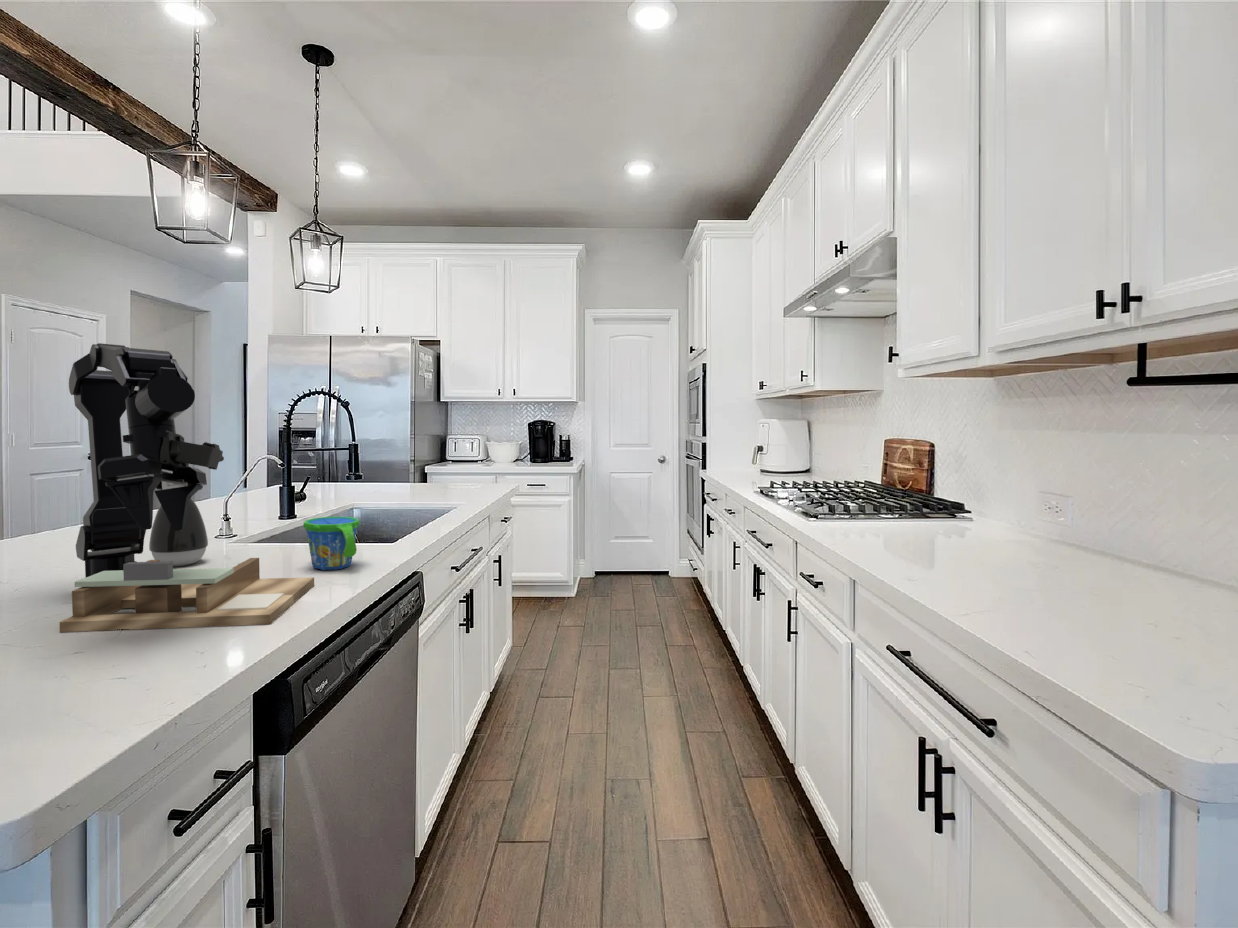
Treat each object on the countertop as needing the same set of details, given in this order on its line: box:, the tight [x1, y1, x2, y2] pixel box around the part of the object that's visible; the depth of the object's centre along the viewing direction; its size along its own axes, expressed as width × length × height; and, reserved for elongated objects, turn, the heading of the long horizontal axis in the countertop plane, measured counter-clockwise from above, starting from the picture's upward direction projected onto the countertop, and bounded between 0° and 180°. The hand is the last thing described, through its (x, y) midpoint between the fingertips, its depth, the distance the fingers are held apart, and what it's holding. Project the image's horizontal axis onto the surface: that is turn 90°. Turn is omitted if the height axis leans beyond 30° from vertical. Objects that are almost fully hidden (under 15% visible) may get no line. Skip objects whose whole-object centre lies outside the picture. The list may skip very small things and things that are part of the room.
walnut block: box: [135, 584, 183, 614], centre depth 98 cm, size 4×4×5 cm
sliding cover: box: [74, 561, 234, 588], centre depth 97 cm, size 19×7×3 cm, turn 101°
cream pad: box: [218, 593, 284, 611], centre depth 100 cm, size 7×8×1 cm
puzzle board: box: [59, 557, 315, 633], centre depth 103 cm, size 28×23×6 cm
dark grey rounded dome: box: [148, 498, 209, 568], centre depth 131 cm, size 10×10×15 cm
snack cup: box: [303, 516, 360, 571], centre depth 131 cm, size 16×10×10 cm
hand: (163, 530), depth 92 cm, fingers open, 9 cm apart
